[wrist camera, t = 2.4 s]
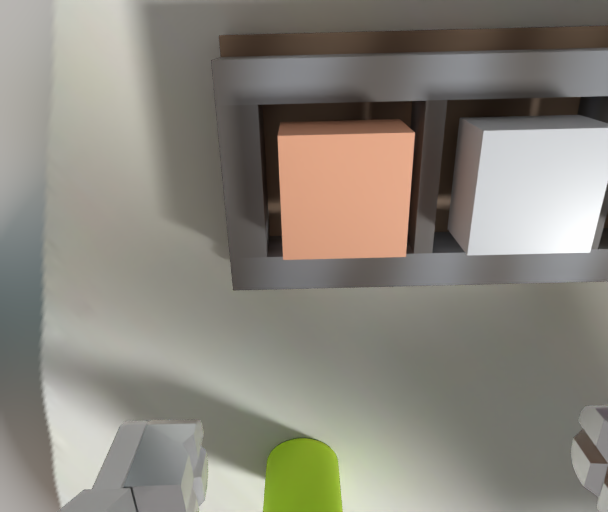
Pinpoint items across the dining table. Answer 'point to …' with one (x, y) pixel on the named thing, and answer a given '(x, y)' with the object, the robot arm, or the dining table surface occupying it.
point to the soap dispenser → (302, 478)
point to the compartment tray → (417, 116)
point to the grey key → (528, 184)
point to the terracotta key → (345, 188)
